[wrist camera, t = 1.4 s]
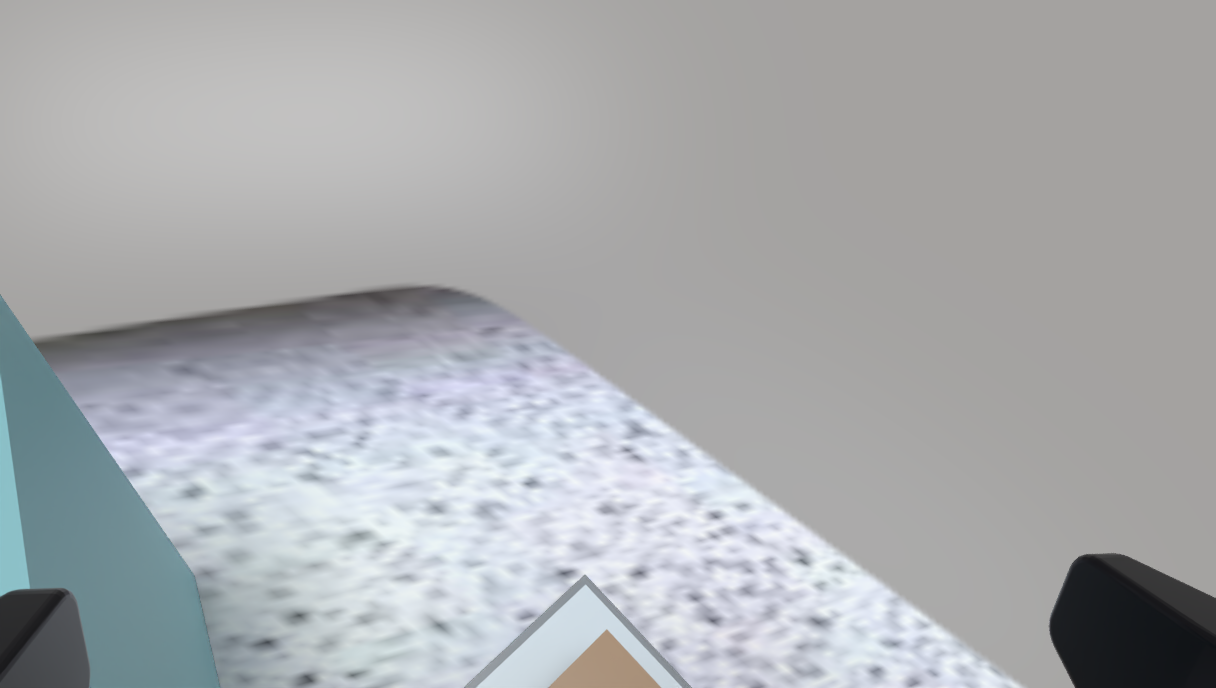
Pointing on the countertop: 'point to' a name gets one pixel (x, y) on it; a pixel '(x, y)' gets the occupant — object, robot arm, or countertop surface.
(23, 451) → the teal block
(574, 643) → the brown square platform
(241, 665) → the countertop surface
